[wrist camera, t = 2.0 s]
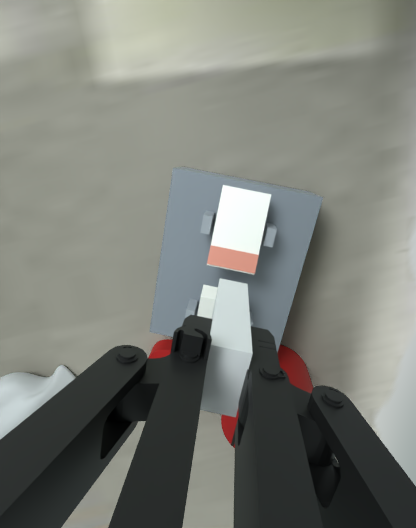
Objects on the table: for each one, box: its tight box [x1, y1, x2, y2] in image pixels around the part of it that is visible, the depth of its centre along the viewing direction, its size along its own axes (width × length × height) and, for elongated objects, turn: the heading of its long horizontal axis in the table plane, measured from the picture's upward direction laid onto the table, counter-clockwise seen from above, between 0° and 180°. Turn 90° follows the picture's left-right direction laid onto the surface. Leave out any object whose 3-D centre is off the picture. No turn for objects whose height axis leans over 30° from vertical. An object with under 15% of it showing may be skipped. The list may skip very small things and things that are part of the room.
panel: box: [150, 167, 323, 353], centre depth 29 cm, size 15×12×7 cm
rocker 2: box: [207, 185, 271, 275], centre depth 25 cm, size 6×4×2 cm, turn 169°
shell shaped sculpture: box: [0, 365, 76, 439], centre depth 38 cm, size 13×13×6 cm
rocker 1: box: [197, 285, 218, 319], centre depth 27 cm, size 6×4×2 cm, turn 169°
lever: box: [149, 340, 313, 448], centre depth 34 cm, size 18×9×7 cm, turn 77°
